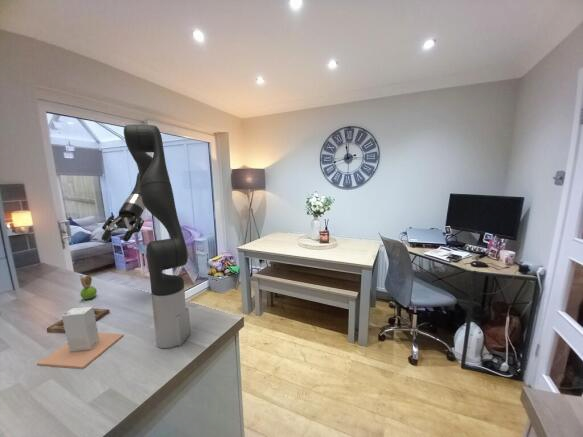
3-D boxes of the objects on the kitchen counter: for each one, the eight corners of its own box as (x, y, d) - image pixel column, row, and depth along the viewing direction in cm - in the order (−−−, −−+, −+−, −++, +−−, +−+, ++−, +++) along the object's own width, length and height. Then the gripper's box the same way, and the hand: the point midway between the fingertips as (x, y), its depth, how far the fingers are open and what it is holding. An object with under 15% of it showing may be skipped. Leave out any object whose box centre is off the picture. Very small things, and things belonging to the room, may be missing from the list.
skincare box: (100, 341, 75) (95, 305, 73) (90, 350, 70) (85, 313, 69) (78, 343, 74) (72, 307, 72) (67, 353, 69) (61, 315, 68)
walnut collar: (109, 312, 92) (109, 309, 92) (76, 334, 79) (76, 329, 79) (83, 311, 93) (83, 308, 93) (47, 332, 80) (46, 328, 80)
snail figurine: (76, 303, 99) (73, 276, 97) (85, 296, 105) (82, 270, 103) (92, 301, 101) (88, 275, 99) (99, 294, 107) (96, 269, 105)
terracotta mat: (123, 336, 78) (123, 334, 78) (83, 368, 64) (83, 366, 64) (85, 333, 79) (84, 331, 79) (37, 365, 66) (37, 363, 66)
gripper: (112, 201, 97) (89, 234, 87) (144, 201, 95) (125, 235, 86) (123, 212, 103) (103, 245, 93) (154, 213, 101) (137, 245, 92)
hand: (114, 240), depth 89 cm, fingers open, 8 cm apart
